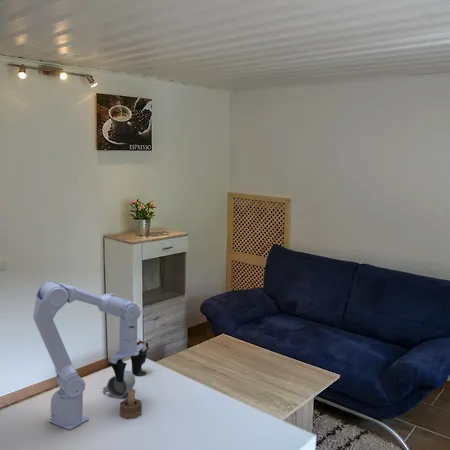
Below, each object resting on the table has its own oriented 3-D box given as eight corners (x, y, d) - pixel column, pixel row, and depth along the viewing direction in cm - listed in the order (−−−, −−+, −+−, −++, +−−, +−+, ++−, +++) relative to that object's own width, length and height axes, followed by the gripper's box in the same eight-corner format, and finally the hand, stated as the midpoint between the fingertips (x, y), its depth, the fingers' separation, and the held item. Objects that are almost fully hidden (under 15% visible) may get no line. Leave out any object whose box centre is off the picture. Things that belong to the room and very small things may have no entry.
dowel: (126, 414, 155) (126, 391, 154) (131, 411, 156) (131, 389, 156) (131, 416, 153) (131, 393, 153) (135, 413, 155) (136, 391, 154)
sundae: (128, 376, 185) (129, 338, 184) (134, 369, 191) (135, 332, 190) (145, 377, 184) (145, 339, 183) (150, 371, 190) (151, 334, 189)
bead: (115, 415, 154) (115, 404, 153) (129, 407, 159) (129, 397, 159) (131, 420, 150) (131, 409, 150) (145, 412, 156) (145, 402, 156)
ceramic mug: (136, 389, 173) (136, 368, 173) (127, 399, 165) (126, 377, 165) (109, 386, 175) (109, 366, 175) (98, 396, 167) (98, 374, 167)
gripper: (122, 346, 149) (121, 388, 150) (152, 334, 162) (151, 373, 163) (105, 341, 153) (105, 383, 154) (135, 330, 165) (135, 369, 166)
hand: (127, 378), depth 159 cm, fingers open, 7 cm apart
